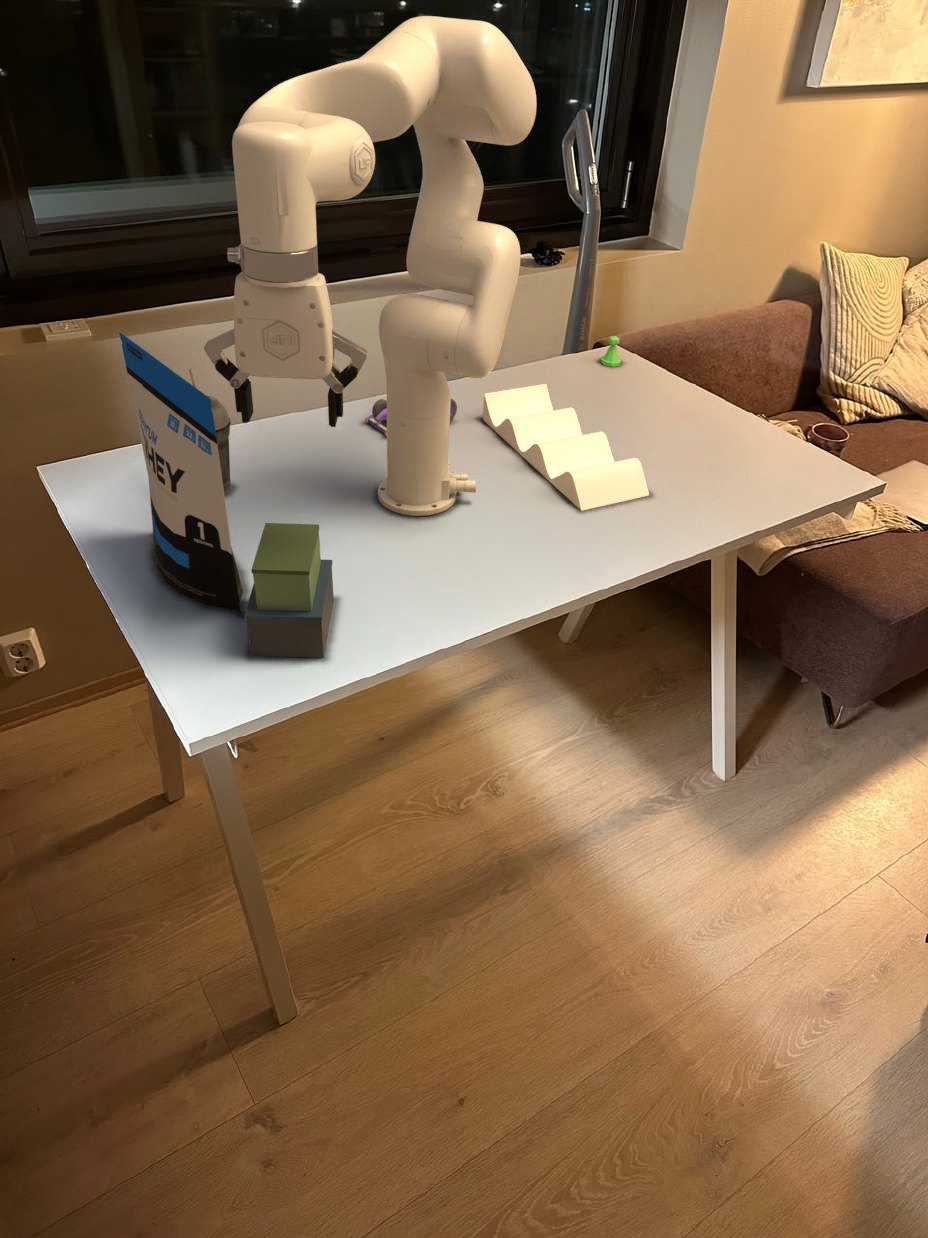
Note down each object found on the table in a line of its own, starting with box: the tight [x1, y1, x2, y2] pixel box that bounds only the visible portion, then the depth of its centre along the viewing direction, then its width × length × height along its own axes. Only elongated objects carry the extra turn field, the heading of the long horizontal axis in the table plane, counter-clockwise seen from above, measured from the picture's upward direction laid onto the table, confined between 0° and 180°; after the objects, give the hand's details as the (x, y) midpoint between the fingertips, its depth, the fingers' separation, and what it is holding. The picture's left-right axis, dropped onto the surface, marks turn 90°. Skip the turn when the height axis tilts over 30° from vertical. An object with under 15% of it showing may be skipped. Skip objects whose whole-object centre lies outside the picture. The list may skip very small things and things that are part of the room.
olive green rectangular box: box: [250, 522, 322, 611], centre depth 108 cm, size 10×7×6 cm, turn 1°
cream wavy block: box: [482, 383, 650, 512], centre depth 153 cm, size 13×35×5 cm, turn 26°
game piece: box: [600, 335, 622, 368], centre depth 187 cm, size 4×4×6 cm
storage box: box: [243, 559, 335, 659], centre depth 112 cm, size 12×9×6 cm
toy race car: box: [364, 398, 458, 437], centre depth 160 cm, size 10×15×6 cm, turn 128°
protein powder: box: [118, 331, 244, 615], centre depth 113 cm, size 10×24×30 cm, turn 40°
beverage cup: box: [188, 367, 231, 496], centre depth 133 cm, size 7×7×20 cm
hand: (290, 419), depth 99 cm, fingers open, 9 cm apart
